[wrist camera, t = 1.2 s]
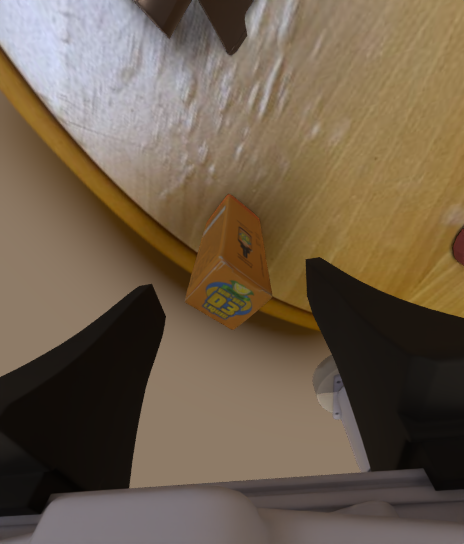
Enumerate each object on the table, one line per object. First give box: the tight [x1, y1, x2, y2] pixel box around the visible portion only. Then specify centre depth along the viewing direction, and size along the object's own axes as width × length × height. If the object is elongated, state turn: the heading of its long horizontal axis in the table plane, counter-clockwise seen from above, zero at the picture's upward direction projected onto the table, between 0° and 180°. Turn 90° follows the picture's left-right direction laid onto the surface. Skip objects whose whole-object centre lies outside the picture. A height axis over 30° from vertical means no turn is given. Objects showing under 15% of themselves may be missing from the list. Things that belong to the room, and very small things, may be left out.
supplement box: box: [185, 194, 272, 330], centre depth 15 cm, size 3×3×10 cm
